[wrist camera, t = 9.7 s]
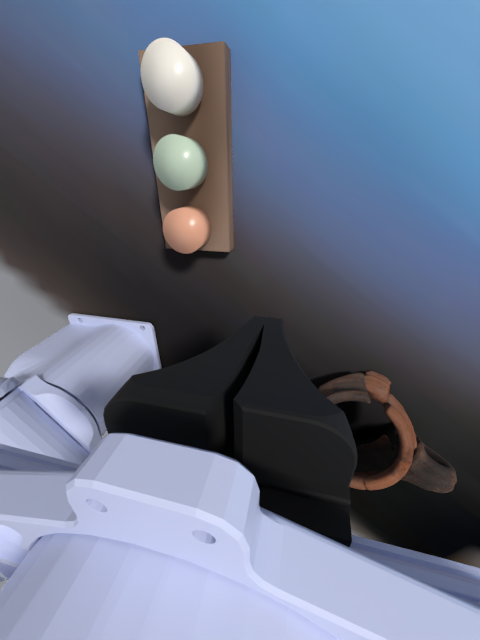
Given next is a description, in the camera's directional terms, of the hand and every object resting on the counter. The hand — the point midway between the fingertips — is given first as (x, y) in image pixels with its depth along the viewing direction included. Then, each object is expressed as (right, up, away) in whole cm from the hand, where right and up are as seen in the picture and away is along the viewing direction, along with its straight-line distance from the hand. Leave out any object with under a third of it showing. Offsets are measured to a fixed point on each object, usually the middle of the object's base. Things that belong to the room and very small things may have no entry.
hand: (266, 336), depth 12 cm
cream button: (-5, +14, +3) cm, 15 cm away
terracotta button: (-5, +7, +6) cm, 11 cm away
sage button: (-5, +11, +4) cm, 12 cm away
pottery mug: (+11, -8, +13) cm, 18 cm away
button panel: (-4, +11, +6) cm, 13 cm away
